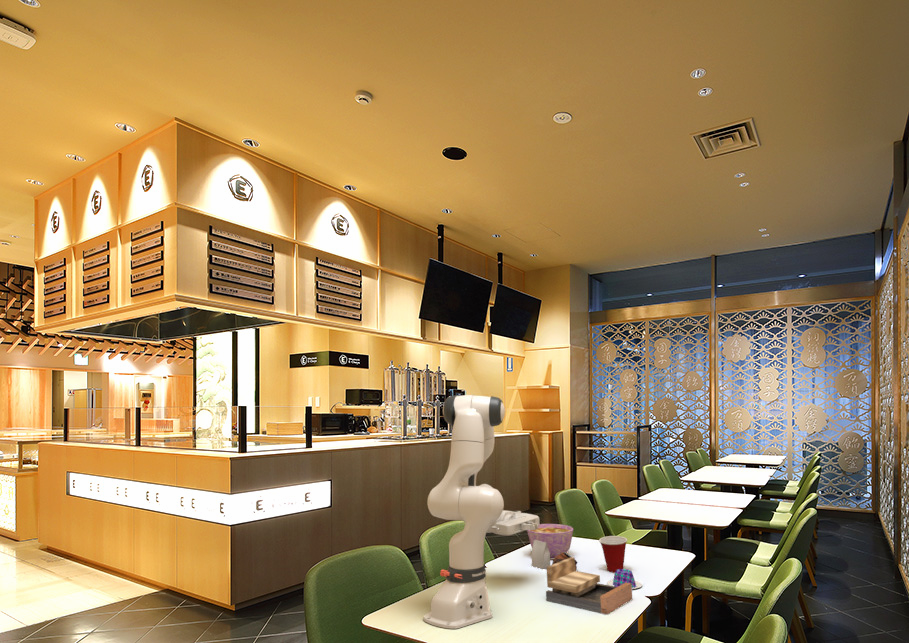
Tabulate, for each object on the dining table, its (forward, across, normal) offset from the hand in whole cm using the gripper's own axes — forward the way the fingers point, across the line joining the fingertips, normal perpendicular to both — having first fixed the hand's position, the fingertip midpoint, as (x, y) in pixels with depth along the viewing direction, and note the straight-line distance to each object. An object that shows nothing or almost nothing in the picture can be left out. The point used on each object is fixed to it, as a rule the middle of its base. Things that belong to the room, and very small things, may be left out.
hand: (536, 527), depth 214 cm
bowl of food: (-21, +42, +22) cm, 52 cm away
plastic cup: (+11, +37, +22) cm, 44 cm away
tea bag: (-15, +25, +22) cm, 36 cm away
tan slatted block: (+14, 0, +19) cm, 24 cm away
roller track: (+20, 0, +21) cm, 29 cm away
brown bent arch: (-4, +23, +22) cm, 32 cm away
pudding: (+22, +22, +22) cm, 38 cm away
